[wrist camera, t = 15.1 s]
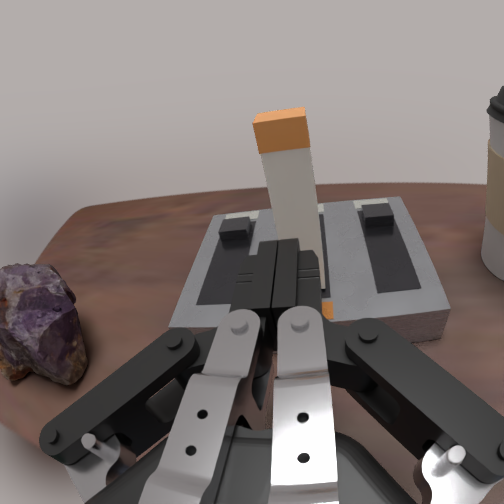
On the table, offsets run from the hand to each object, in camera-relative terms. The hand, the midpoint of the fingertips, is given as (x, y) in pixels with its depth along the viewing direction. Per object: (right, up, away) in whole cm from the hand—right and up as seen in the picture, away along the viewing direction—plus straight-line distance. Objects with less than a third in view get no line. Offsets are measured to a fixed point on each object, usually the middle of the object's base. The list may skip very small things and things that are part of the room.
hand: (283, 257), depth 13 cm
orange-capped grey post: (+2, -2, +8) cm, 9 cm away
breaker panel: (+3, -2, +13) cm, 14 cm away
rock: (-19, -9, +12) cm, 25 cm away
